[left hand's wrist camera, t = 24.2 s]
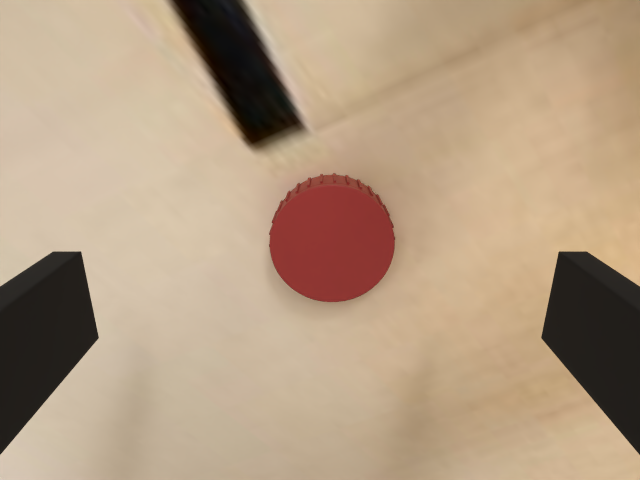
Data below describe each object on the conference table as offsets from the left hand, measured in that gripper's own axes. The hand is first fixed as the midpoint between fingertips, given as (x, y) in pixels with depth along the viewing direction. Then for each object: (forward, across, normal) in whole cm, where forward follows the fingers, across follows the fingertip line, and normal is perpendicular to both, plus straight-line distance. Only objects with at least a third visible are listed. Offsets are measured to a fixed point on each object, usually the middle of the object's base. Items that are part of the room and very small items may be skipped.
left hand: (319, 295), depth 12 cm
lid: (+6, 0, -1) cm, 6 cm away
